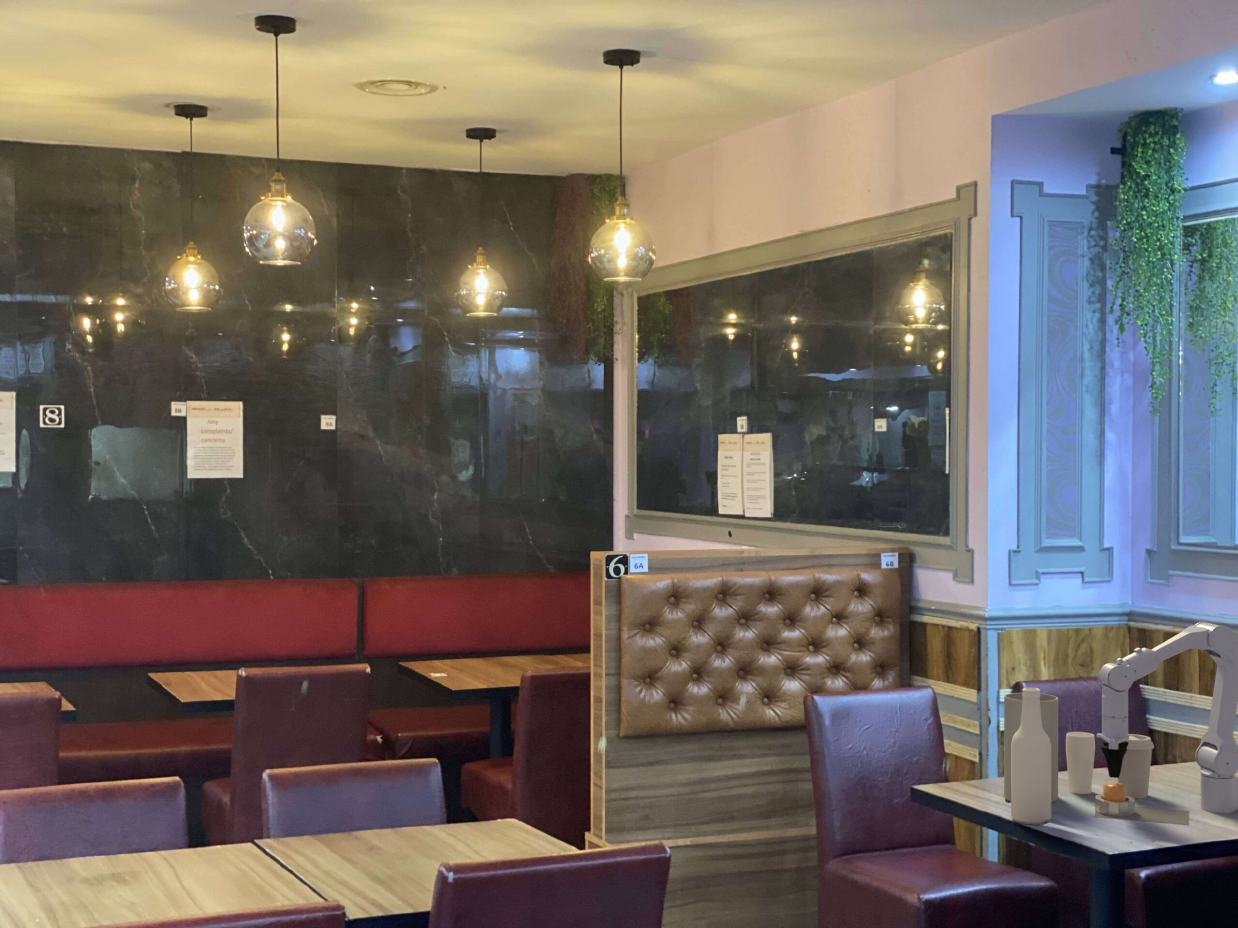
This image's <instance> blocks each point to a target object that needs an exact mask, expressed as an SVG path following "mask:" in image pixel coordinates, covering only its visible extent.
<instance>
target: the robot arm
mask: <svg viewBox="0 0 1238 928" xmlns="http://www.w3.org/2000/svg"><path fill="white" fill-rule="evenodd" d="M1190 649H1192V650H1202V651H1204V653H1206V654H1208V656H1210V658H1211V659H1212V660H1213V661H1214V662H1215V663H1216V672H1215V678H1214V679H1215V680H1214V686H1213V693H1212V700H1211V705H1210V707H1211V708H1210V715H1209V722H1208V728H1207V731H1206V732H1205V733H1204V734H1203V735H1201V739H1200V744H1199V746H1198V747H1197V749H1196V750H1195V753H1194V759H1195V762H1196V763H1197V765H1198V766H1199V767H1200V809H1201V810H1202V811H1206V812H1210V813H1219V814H1228V813H1229V814H1230V813H1233V812H1235V811H1237V810H1238V776H1237V775H1235V774H1237V772H1238V743H1237V741H1236V739H1235V737H1234V729H1235V723H1236V717H1237V709H1238V635H1237V634H1236V633H1235V631H1233V629H1232V628H1230V627H1228V626H1226V625H1219V624H1215V623H1211V622H1208V621H1198V622H1197V623H1195V624H1194V625H1190V626H1187V627H1186V628H1185V629H1184V630H1183V631H1181V632H1179V633H1178V634H1176V635H1174V636H1172V637H1171V638H1169V639H1166V641H1164V642H1162V643H1160V644H1159V645H1157V646H1155V647H1153V648H1152V649H1150V648H1146V647H1142V648H1140V647H1136V648H1135V649H1133V651H1134V652H1133V653H1130V654H1129V655H1126V656H1124V657H1122V658H1121V657H1119V658H1117V659H1116V662H1115V663H1114V662H1109V663H1105V664H1103V666H1102V667H1101V669H1100V670H1099V672H1098V673H1097V674H1096V677H1097V680H1098V683H1099V684H1100V685H1101V733H1100V732H1099V733H1096V738H1098V739H1102V740H1103V741H1102V744H1103V745H1100V746H1101V747H1100V749H1101V751H1102V753H1103V755H1104V758H1105V761H1106V766H1107V771H1108V776H1109V778H1113V779H1117V778H1119V776H1120V772H1121V768H1122V762H1123V758H1124V755H1125V753H1126V751H1127V746H1128V744H1129V742H1128V741H1127V740H1129V736H1128V734H1129V689H1130V688H1131V687H1132V685H1133V683H1134V682H1135V681H1138V680H1139V679H1141V678H1144V677H1145V676H1147V675H1149V674H1151V673H1153V672H1155V671H1157V670H1158V668H1159V665H1160V663H1161V662H1163V661H1165V660H1168V659H1170V658H1172V657H1174V656H1176V655H1178V654H1181V653H1183V652H1185V651H1188V650H1190Z"/></svg>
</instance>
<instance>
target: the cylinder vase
mask: <svg viewBox="0 0 1238 928" xmlns="http://www.w3.org/2000/svg"><path fill="white" fill-rule="evenodd" d="M1022 694H1023V692H1012V693H1006V694H1004V696H1003V697H1004V699H1003V701H1004V702H1003V706H1004V707H1003V708H1004V709H1003V711H1004V712H1003V717H1004V719H1003V725H1004V726H1003V727H1004V728H1003V741H1004V742H1003V750H1004V751H1003V759H1004V760H1003V761H1004V762H1003V767H1004V768H1003V769H1004V770H1003V775H1004V776H1003V785H1004V787H1003V797H1004V798H1005V799H1006V801H1008V802H1009V803H1011V743H1012V739H1013V736H1014V734H1015V733H1016V732H1017V731H1018V730H1019V728H1020V725H1021V714H1022V702H1023V696H1022ZM1040 707H1041V720H1042V727H1043V730H1044V732H1045V733H1046V734H1047V735H1048V737H1049V738H1050V742H1051V803H1052V802H1056V801H1058V800H1059V697H1057V696H1055V695H1052V694H1046V693H1040Z"/></svg>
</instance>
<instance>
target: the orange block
mask: <svg viewBox="0 0 1238 928" xmlns="http://www.w3.org/2000/svg"><path fill="white" fill-rule="evenodd" d="M1102 790H1103V791H1102V794H1103V796H1104V800H1108V801H1116V802H1124V801H1126V797H1125V785H1124V784H1121V783H1118V782H1106V783H1103V784H1102Z"/></svg>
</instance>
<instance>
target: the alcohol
mask: <svg viewBox="0 0 1238 928" xmlns="http://www.w3.org/2000/svg"><path fill="white" fill-rule="evenodd" d="M1021 691H1022V693H1023V694H1022V696H1023V702H1022V714H1021V725H1020V728H1019V730H1018V731H1017V732H1016V733H1015V734H1014V736H1013V739H1012V743H1011V802H1010V810H1011V811H1010V816H1011V818H1012V820H1013V821H1015V822H1016V823H1018V824H1023V825H1030V826H1031V825H1033V826H1034V825H1035V826H1036V825H1037V826H1039V825H1040V826H1041V825H1047V824H1048V823H1049V820H1051V819H1052V802H1051V742H1050V738H1049V737H1048V735H1047V734H1046V733H1045V732H1044V730H1043V727H1042V720H1041V707H1040V694H1041V689H1040V688H1038V687H1024V688H1022V690H1021Z"/></svg>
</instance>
